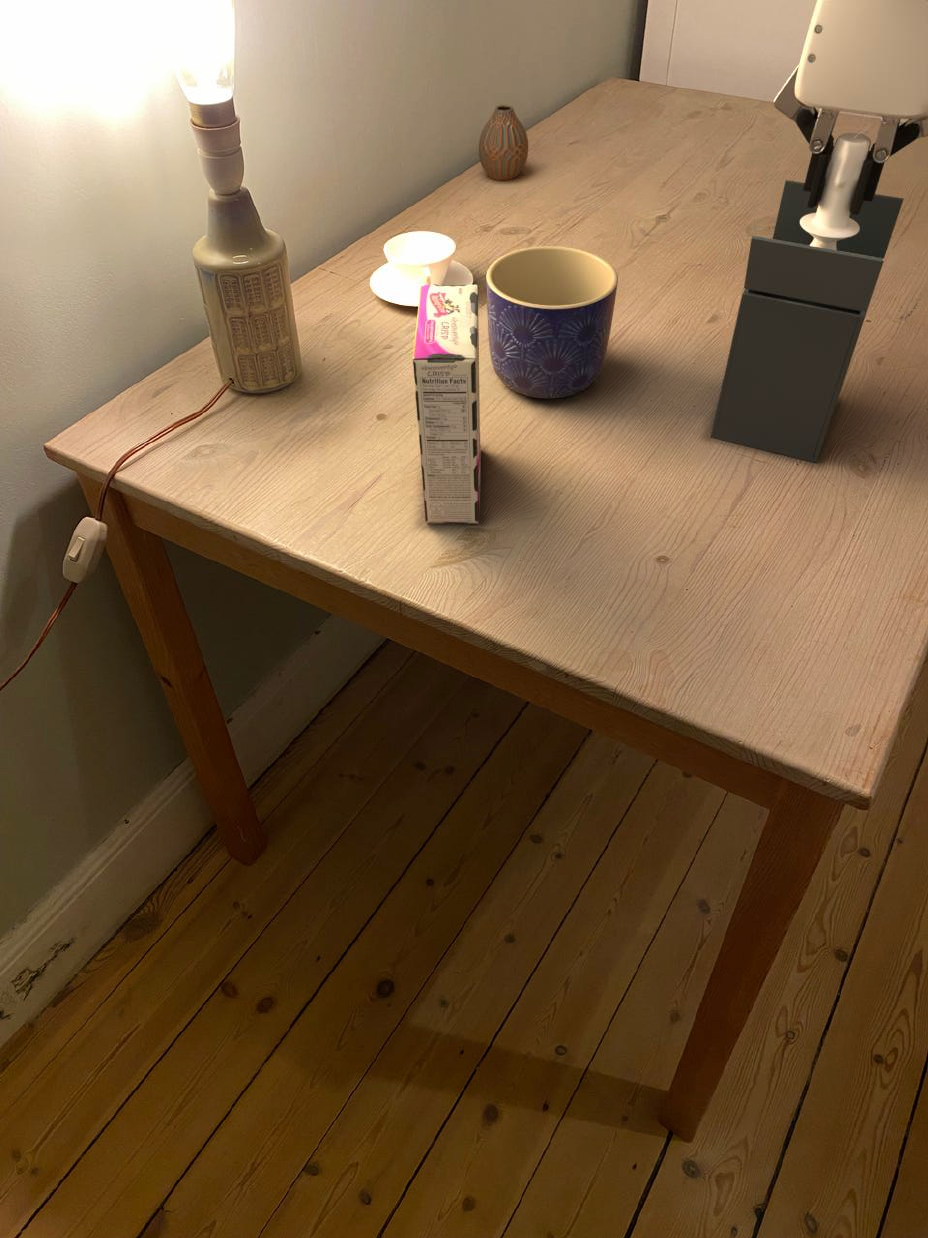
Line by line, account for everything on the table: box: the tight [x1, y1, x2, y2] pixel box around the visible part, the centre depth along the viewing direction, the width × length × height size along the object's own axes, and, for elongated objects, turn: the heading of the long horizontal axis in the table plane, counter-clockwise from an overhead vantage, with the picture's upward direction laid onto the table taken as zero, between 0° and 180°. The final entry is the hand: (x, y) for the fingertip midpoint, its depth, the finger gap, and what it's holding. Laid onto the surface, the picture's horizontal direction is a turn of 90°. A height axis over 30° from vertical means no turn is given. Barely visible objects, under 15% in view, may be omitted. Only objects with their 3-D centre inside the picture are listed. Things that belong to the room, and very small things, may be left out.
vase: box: [478, 104, 529, 181], centre depth 126 cm, size 7×7×9 cm
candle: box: [800, 130, 872, 251], centre depth 73 cm, size 5×5×12 cm
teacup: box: [369, 231, 474, 307], centre depth 105 cm, size 12×12×5 cm
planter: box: [485, 245, 619, 399], centre depth 90 cm, size 12×12×11 cm
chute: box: [710, 179, 905, 464], centre depth 81 cm, size 12×10×20 cm
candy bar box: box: [412, 284, 482, 525], centre depth 76 cm, size 11×5×16 cm, turn 179°
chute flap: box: [743, 235, 884, 312], centre depth 71 cm, size 5×10×1 cm
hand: (835, 202), depth 73 cm, fingers closed on candle, 2 cm apart
